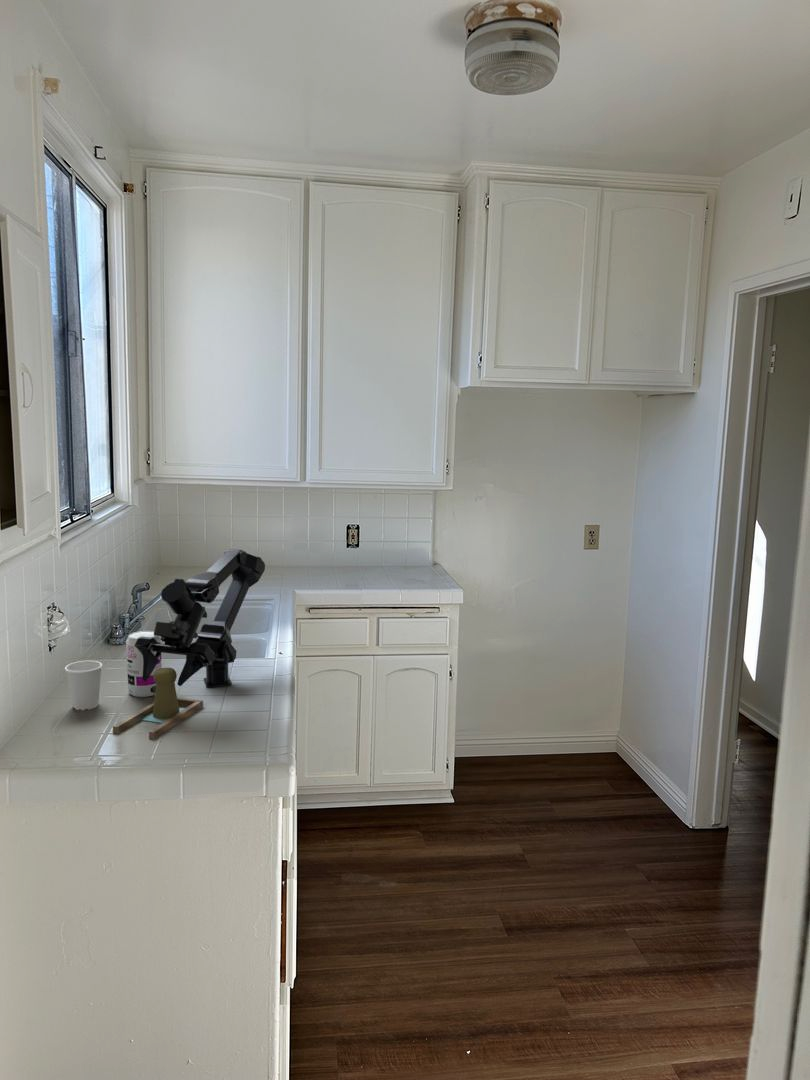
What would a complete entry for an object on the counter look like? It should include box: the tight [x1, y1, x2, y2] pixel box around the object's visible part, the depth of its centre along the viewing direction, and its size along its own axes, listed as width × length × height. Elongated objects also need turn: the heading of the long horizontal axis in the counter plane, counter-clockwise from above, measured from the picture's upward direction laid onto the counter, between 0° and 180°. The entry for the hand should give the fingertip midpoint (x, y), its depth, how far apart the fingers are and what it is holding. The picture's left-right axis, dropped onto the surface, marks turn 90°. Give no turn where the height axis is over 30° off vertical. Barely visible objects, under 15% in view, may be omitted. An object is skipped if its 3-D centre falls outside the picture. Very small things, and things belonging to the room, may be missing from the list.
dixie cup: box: [64, 660, 103, 711], centre depth 192 cm, size 8×8×10 cm
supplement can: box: [125, 630, 163, 698], centre depth 201 cm, size 8×8×15 cm
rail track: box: [112, 696, 204, 740], centre depth 185 cm, size 20×10×2 cm, turn 163°
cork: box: [153, 667, 180, 719], centre depth 186 cm, size 6×6×11 cm
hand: (161, 682), depth 184 cm, fingers open, 9 cm apart
